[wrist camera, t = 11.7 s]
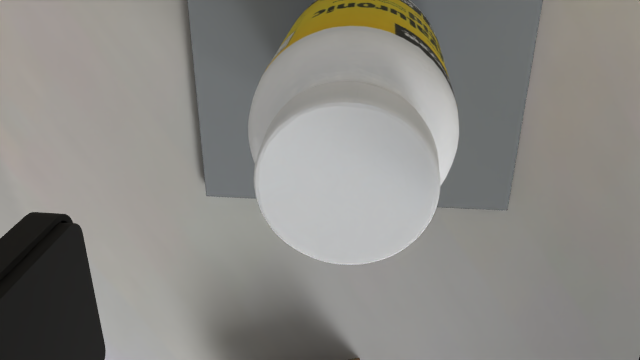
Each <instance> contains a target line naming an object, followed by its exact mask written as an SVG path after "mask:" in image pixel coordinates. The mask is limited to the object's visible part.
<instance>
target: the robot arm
mask: <svg viewBox="0 0 640 360" xmlns="http://www.w3.org/2000/svg"><path fill="white" fill-rule="evenodd" d="M104 359H105V344H104V339H103V334H102V329H101V324H100V319H99V314H98V309H97V304H96V298H95V293H94V288H93V283H92V278H91V273H90V268H89V263H88V258H87V253H86V248H85V243H84V238H83V233H82V230H81V227H80V226H79V225H78V224H76V223H73V222H72V220H71V218H70V217H69V216H68V215H66V214H55V213H39V212H32V213H29V214H28V215H26V216H25V217H24V218H23V219H22V220H20V221H19V222H18V223H17V224H16V225H15V226H14V227H13V228H12V229H10V230H9V231H8V232H7V233H6V234H5V235H4V236H3V237H2V238H0V360H104ZM639 360H640V357H639Z"/></svg>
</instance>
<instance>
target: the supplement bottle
mask: <svg viewBox="0 0 640 360" xmlns="http://www.w3.org/2000/svg"><path fill="white" fill-rule="evenodd" d="M248 137H249V144H250V149H251V154H252V157H253V160H254V163H255V169H254V189H255V194H256V199H257V202H258V205H259V208H260V210H261V213H262V215H263V216H264V218H265V220H266V222H267V223H268V224H269V226H270V227H271V229H272V230H273V231H274V232H275V233H276V234H277V235H278V236H279V237H280V238H281V239H282V240H283V241H284V242H285V243H287V244H288V245H289V246H291V247H292V248H294V249H295V250H297V251H299V252H300V253H302V254H305V255H307V256H309V257H311V258H314V259H317V260H320V261H323V262H327V263H333V264H340V265H358V264H366V263H372V262H376V261H379V260H383V259H385V258H388V257H391V256H393V255H395V254H397V253H398V252H400V251H402V250H403V249H405V248H406V247H408V246H409V245H410V244H411V243H412V242H414V241H415V240H416V239H417V238H418V237H419V236H420V235H421V234H422V232H423V231H424V230H425V229H426V227H427V226H428V224H429V223H430V221H431V219H432V217H433V215H434V212H435V210H436V207H437V204H438V200H439V195H440V186H441V185H442V183H443V181H444V180H445V178H446V176H447V174H448V172H449V170H450V168H451V166H452V163H453V160H454V157H455V154H456V151H457V146H458V139H459V119H458V110H457V105H456V101H455V97H454V92H453V89H452V86H451V83H450V80H449V77H448V73H447V70H446V67H445V63H444V59H443V56H442V53H441V49H440V45H439V42H438V40H437V37H436V35H435V32H434V30H433V28H432V26H431V24H430V23H429V21H428V20H427V18H426V17H425V15H424V14H423V13H422V12H421V10H420V9H419V8H418V7H417V6H416V5H415V4H414V3H412V2H411V1H410V0H315V1H314V2H313V3H312V4H310V5H309V6H308V7H307V8H306V9H305V10H304V12H303V13H302V14H301V15H300V16H299V18H298V19H297V20H296V22H295V23H294V25H293V26H292V28H291V29H290V31H289V33H288V34H287V36H286V38H285V39H284V41H283V42H282V44H281V46H280V48H279V49H278V51H277V52H276V54H275V56H274V57H273V59H272V61H271V62H270V64H269V65H268V67H267V68H266V70H265V72H264V74H263V75H262V77H261V79H260V82H259V84H258V86H257V89H256V91H255V94H254V97H253V100H252V104H251V109H250V114H249V120H248Z"/></svg>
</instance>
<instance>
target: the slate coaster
mask: <svg viewBox="0 0 640 360" xmlns="http://www.w3.org/2000/svg"><path fill="white" fill-rule="evenodd" d="M187 1H188V12H189V22H190V32H191V42H192V53H193V63H194V73H195V84H196V94H197V104H198V115H199V125H200V135H201V146H202V156H203V166H204V176H205V187H206V196H214V197H235V198H256V194H255V189H254V169H255V163H254V160H253V157H252V154H251V149H250V144H249V137H248V120H249V114H250V109H251V104H252V100H253V97H254V94H255V91H256V89H257V86H258V84H259V82H260V79H261V77H262V75H263V74H264V72H265V70H266V68H267V67H268V65H269V64H270V62H271V61H272V59H273V57H274V56H275V54H276V52H277V51H278V49H279V48H280V46H281V44H282V42H283V41H284V39H285V38H286V36H287V34H288V33H289V31H290V29H291V28H292V26H293V25H294V23H295V22H296V20H297V19H298V18H299V16H300V15H301V14H302V13H303V12H304V10H305V9H306V8H307V7H308V6H309V5H310V4H312V3H313V2H314V1H315V0H187ZM410 1H411V2H412V3H414V4H415V5H416V6H417V7H418V8H419V9H420V10H421V12H422V13H423V14H424V15H425V17H426V18H427V20H428V21H429V23H430V24H431V26H432V28H433V30H434V32H435V35H436V37H437V40H438V42H439V45H440V49H441V53H442V56H443V59H444V63H445V67H446V70H447V73H448V77H449V80H450V83H451V86H452V89H453V92H454V97H455V101H456V105H457V110H458V119H459V139H458V146H457V151H456V154H455V157H454V160H453V163H452V166H451V168H450V170H449V172H448V174H447V176H446V178H445V180H444V181H443V183H442V185H441V186H440V195H439V200H438V204H437V207H444V208H465V209H486V210H508V204H509V198H510V192H511V186H512V180H513V174H514V168H515V162H516V156H517V150H518V144H519V138H520V132H521V126H522V121H523V115H524V109H525V103H526V97H527V91H528V85H529V79H530V73H531V67H532V61H533V55H534V49H535V43H536V37H537V31H538V25H539V19H540V14H541V8H542V2H543V0H410Z"/></svg>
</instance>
